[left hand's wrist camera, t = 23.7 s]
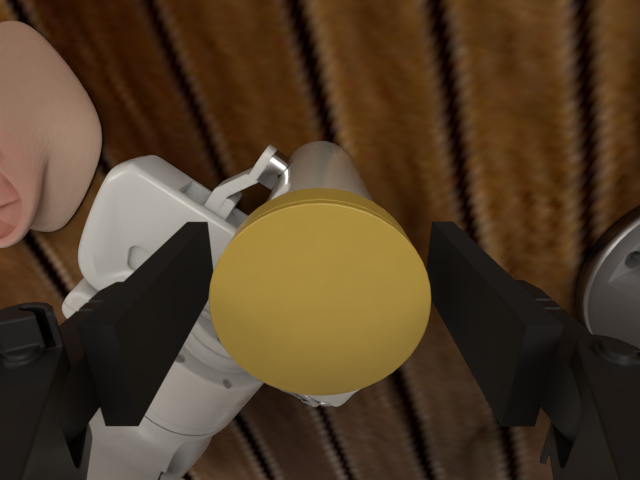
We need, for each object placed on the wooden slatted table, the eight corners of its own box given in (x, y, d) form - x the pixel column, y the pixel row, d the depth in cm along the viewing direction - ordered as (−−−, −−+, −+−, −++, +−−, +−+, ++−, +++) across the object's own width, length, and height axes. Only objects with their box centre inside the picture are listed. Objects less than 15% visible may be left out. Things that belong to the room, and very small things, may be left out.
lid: (437, 201, 11) (458, 220, 9) (394, 367, 13) (404, 405, 12) (227, 173, 11) (210, 187, 9) (220, 348, 13) (205, 385, 11)
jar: (286, 136, 26) (232, 199, 10) (362, 145, 26) (428, 221, 10) (280, 210, 28) (227, 360, 12) (351, 218, 28) (391, 376, 12)
